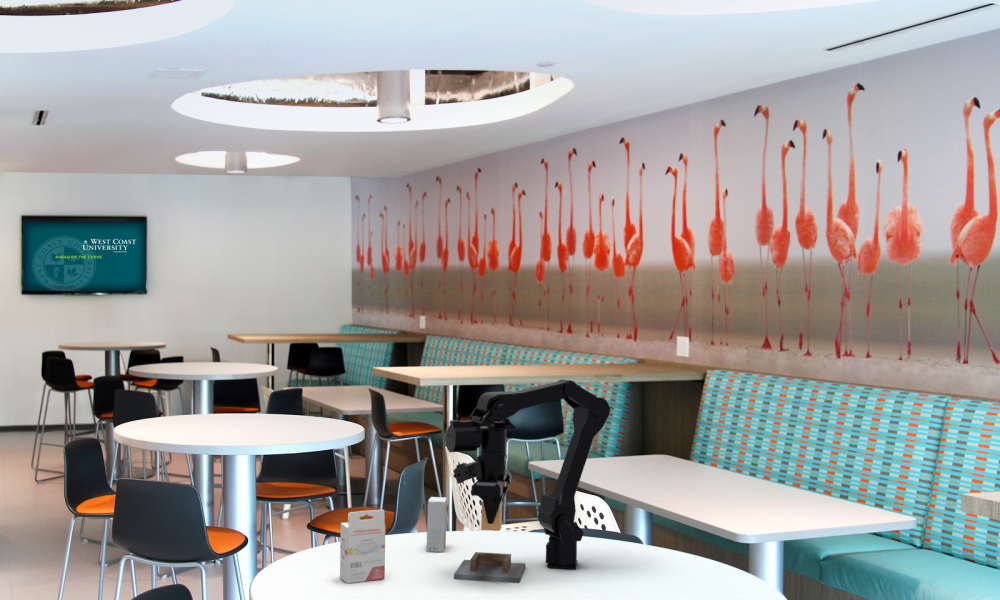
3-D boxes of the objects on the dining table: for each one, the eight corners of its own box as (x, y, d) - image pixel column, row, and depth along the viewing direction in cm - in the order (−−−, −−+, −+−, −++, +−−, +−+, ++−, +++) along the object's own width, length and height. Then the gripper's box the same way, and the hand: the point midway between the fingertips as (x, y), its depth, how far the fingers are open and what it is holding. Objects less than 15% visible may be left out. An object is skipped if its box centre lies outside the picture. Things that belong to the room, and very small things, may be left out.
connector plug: (501, 527, 198) (502, 491, 198) (499, 530, 195) (500, 493, 195) (483, 526, 198) (484, 490, 199) (481, 529, 195) (482, 492, 196)
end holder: (525, 567, 201) (525, 552, 201) (518, 582, 189) (519, 566, 189) (464, 564, 203) (464, 548, 203) (453, 578, 191) (454, 562, 191)
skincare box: (444, 552, 213) (445, 501, 214) (426, 552, 213) (427, 501, 214) (446, 546, 219) (447, 497, 220) (428, 545, 219) (429, 496, 220)
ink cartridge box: (377, 573, 194) (378, 505, 195) (385, 579, 190) (386, 509, 190) (338, 577, 190) (340, 508, 191) (345, 584, 186) (347, 512, 186)
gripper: (464, 443, 208) (463, 511, 207) (448, 454, 189) (446, 529, 189) (512, 445, 206) (511, 513, 205) (500, 457, 187) (499, 532, 187)
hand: (491, 521), depth 197 cm, fingers closed on connector plug, 3 cm apart
